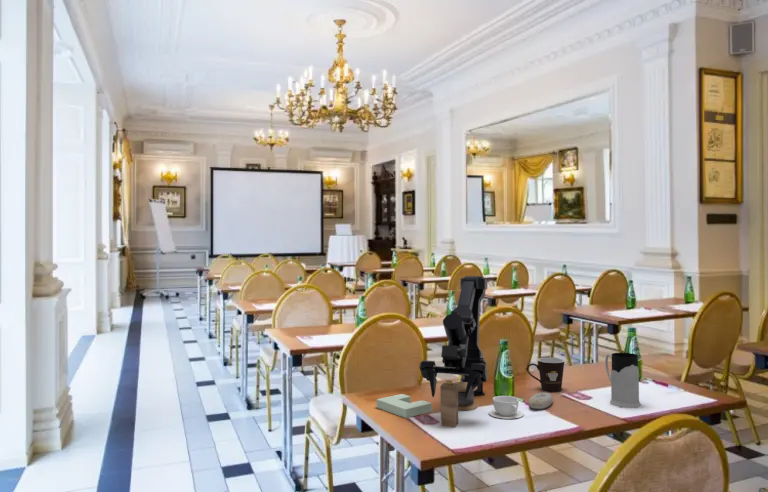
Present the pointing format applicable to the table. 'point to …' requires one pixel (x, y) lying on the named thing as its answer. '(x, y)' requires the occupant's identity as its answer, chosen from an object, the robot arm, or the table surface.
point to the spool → (465, 403)
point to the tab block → (449, 404)
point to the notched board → (403, 405)
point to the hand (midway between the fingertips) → (449, 397)
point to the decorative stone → (540, 400)
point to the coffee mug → (550, 373)
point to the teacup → (506, 407)
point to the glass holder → (624, 380)
